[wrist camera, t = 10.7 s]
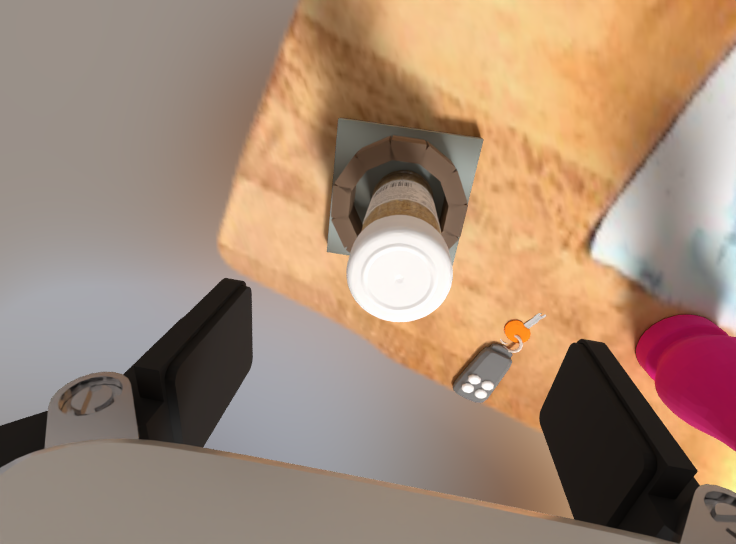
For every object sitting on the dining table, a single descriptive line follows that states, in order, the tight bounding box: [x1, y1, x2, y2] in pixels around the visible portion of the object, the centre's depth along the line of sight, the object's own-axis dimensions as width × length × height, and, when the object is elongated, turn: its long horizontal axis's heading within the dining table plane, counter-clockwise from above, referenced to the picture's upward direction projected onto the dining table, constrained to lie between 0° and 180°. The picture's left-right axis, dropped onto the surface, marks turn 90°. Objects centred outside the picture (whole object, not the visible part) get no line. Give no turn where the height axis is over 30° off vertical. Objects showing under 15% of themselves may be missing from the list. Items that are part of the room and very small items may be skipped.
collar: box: [327, 118, 483, 266], centre depth 27 cm, size 10×10×4 cm
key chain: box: [453, 313, 546, 403], centre depth 33 cm, size 13×4×2 cm, turn 155°
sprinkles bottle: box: [347, 170, 453, 322], centre depth 22 cm, size 5×5×13 cm
